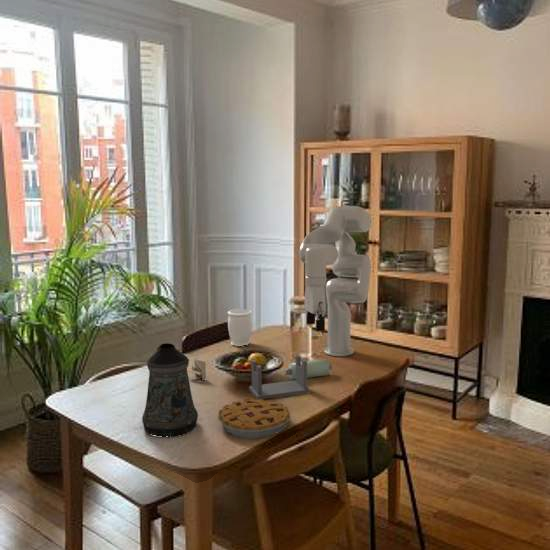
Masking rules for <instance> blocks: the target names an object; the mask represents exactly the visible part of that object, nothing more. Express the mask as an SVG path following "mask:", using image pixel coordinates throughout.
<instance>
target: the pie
mask: <svg viewBox="0 0 550 550" xmlns="http://www.w3.org/2000/svg"><path fill="white" fill-rule="evenodd" d="M217 420H218V421H219V423H220V424H221V425H222V426H224V427H223V428H224V429H225V430H226V432H227V431H228V432H227V433H229V432H230V433H229V434H231V433H232V434H231V435H233V434H234V435H236V436H235V437H237V436H240V437H239V438H242V437H244V438H243V439H260V438H259V437H261V438H264V436H266V437H270V435H271V436H273V435H275V434H274V433H276V432H278V433H280V432H281V431H282V429H283V428H284V427H285V426H286V427H287V424H288V422H289V421H290V420H291V412H290V411H289V409H288V407H287V406H284V405H283V403H281V402H277V403H276V402H275V401H274V400H272V399H250V398H246V399H244V400H242V401H234V402H232V403H231V404H226V405H224V406H223V407H222V409H219V411H218V414H217ZM286 427H285V428H286ZM285 428H284V429H285ZM279 431H280V432H279ZM272 434H273V435H272ZM276 434H277V433H276ZM234 435H233V436H234Z"/></svg>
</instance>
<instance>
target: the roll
mask: <svg viewBox="0 0 550 550" xmlns="http://www.w3.org/2000/svg"><path fill="white" fill-rule="evenodd" d="M306 361H307V360H306ZM301 366H302V361H301ZM331 370H333V365H332V363H330V362H328V360H327V359H326V358H325V359H324V358H323V359H316V360H315V359H314V360H308V361H307V379H309V378H314V377H315V378H317V377H325V376H329V374H330V371H331ZM284 375H285V376H289V379H290V378H291V379H290V380H291V381H294V380H296V362H290V363H288V367H287V368H285V369H284Z"/></svg>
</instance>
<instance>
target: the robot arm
mask: <svg viewBox="0 0 550 550" xmlns="http://www.w3.org/2000/svg"><path fill="white" fill-rule="evenodd" d="M371 226H372V217H371V215H370V213H369V212H368V211H367V210H366V209H365V208H363V207H361V206H357V205H336V206H333V207H332V208H331V209H329V212H328V214H327V216H326V218H325V221H324V223H323V224H322V226H319V227H318V228H316V229H315V230H313V231H311V232H310V233H308V234H306V236H305V237H304V239H303V241H302V242H301V245H300V247H299V252H298V256H299V257H298V258H299V260H300V261H301V263H302V264H303V263H304V264H305V265H304V266H305V268H304V269H305V272H304V274H305V275H304V278H305V279H304V281H305V283H304V284H305V289H304V304H303V305H304V310H305V311H306V312H305V313H306V325H314V324H315V331H316V332H322V331H326V313H327V339H326V342H327V346H325V347H324V348H323V352H324V353H323V354H326V355H327V356H332V357H348V356H351V355H353V354H354V353H355V349H354V348H353V347H351V327H352V326H351V325H352V324H351V316H352V315H351V314H352V313H351V309H350V307H349V305H348V304H347V303H359V304H360V303H361V304H362V303H365V302H366V301H367V299H368V296H369V289H370V281H371V280H370V279H371V273H372V262H371V261H372V260H371V258H370V257H369V256H367V255H365V254H356V246H357V244H356V241H355V240H354V238H353V237H352V236H351V235H350V234H349V233H366V232H368V231H369V230H370V228H371ZM333 243H335V245H333ZM329 265H332V273H333V274H334V275H335V276H338V277H345V278H338V277H336V278H331V279H329V280H328V281H327V266H329ZM346 277H347V278H346ZM348 277H349V278H348ZM352 278H353V279H352ZM354 278H357V279H354ZM326 302H327V306H326ZM326 307H327V309H326Z"/></svg>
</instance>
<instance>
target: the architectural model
mask: <svg viewBox="0 0 550 550" xmlns="http://www.w3.org/2000/svg"><path fill="white" fill-rule="evenodd" d="M193 363H194V365H192V366H191V368H187V373H188V372H189V373H192V374H194V376H197V377H196V378H197V379H198V380H199V379H200V380H202V382H204V381H206V380H207V374H206V373H207V372H206V370H207V369H206V368H207V367H206V366H207V365H206V361H205V360H202V359H198V358H194V361H193ZM201 378H202V379H201ZM205 379H206V380H205ZM203 380H204V381H203Z"/></svg>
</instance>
